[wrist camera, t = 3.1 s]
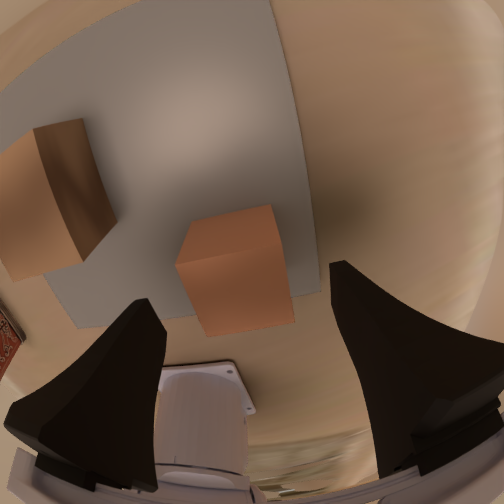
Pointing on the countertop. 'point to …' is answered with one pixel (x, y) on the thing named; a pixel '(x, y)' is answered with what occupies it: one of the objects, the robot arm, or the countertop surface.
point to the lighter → (8, 337)
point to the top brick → (236, 272)
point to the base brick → (51, 201)
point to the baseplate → (172, 143)
